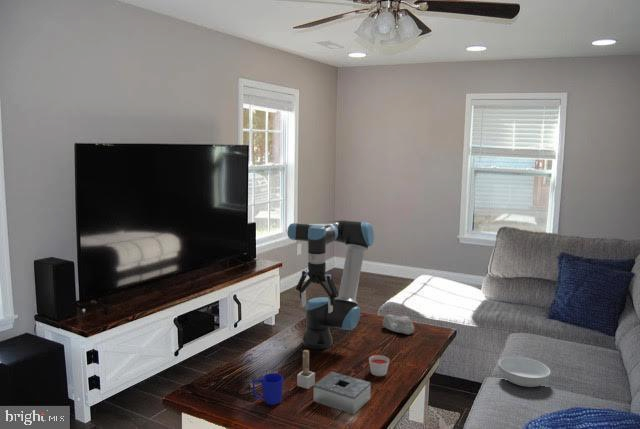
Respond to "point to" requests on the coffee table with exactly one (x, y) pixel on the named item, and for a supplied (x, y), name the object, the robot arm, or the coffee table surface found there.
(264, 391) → the mug
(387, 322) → the decorative stone
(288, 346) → the coffee table surface
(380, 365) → the candle
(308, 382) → the hollow square box
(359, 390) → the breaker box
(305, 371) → the peg
